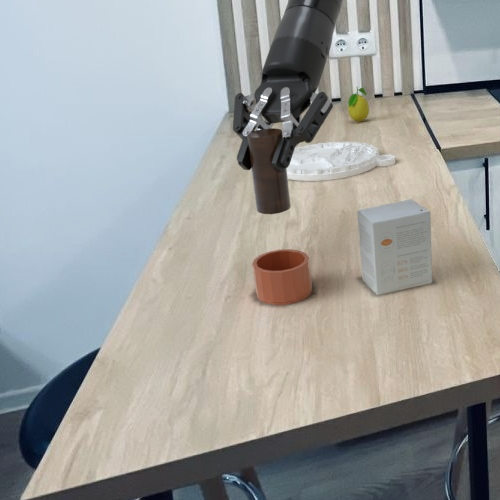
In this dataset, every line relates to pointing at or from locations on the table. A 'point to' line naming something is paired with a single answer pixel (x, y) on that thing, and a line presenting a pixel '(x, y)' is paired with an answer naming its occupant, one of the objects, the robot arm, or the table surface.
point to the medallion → (334, 160)
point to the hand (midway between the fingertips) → (260, 167)
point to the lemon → (358, 106)
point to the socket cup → (282, 276)
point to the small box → (395, 246)
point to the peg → (267, 172)
